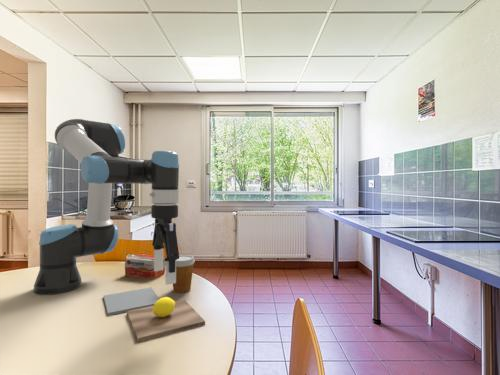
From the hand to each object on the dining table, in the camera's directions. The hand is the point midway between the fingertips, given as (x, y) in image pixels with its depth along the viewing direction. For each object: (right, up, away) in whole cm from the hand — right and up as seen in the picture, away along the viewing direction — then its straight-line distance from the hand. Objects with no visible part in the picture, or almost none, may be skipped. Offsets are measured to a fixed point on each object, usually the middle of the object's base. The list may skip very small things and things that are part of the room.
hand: (164, 276), depth 84 cm
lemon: (0, -12, 0) cm, 12 cm away
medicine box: (-21, -13, +42) cm, 49 cm away
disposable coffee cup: (0, -13, +24) cm, 27 cm away
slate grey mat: (-15, -12, +13) cm, 23 cm away
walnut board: (0, -13, 0) cm, 13 cm away
